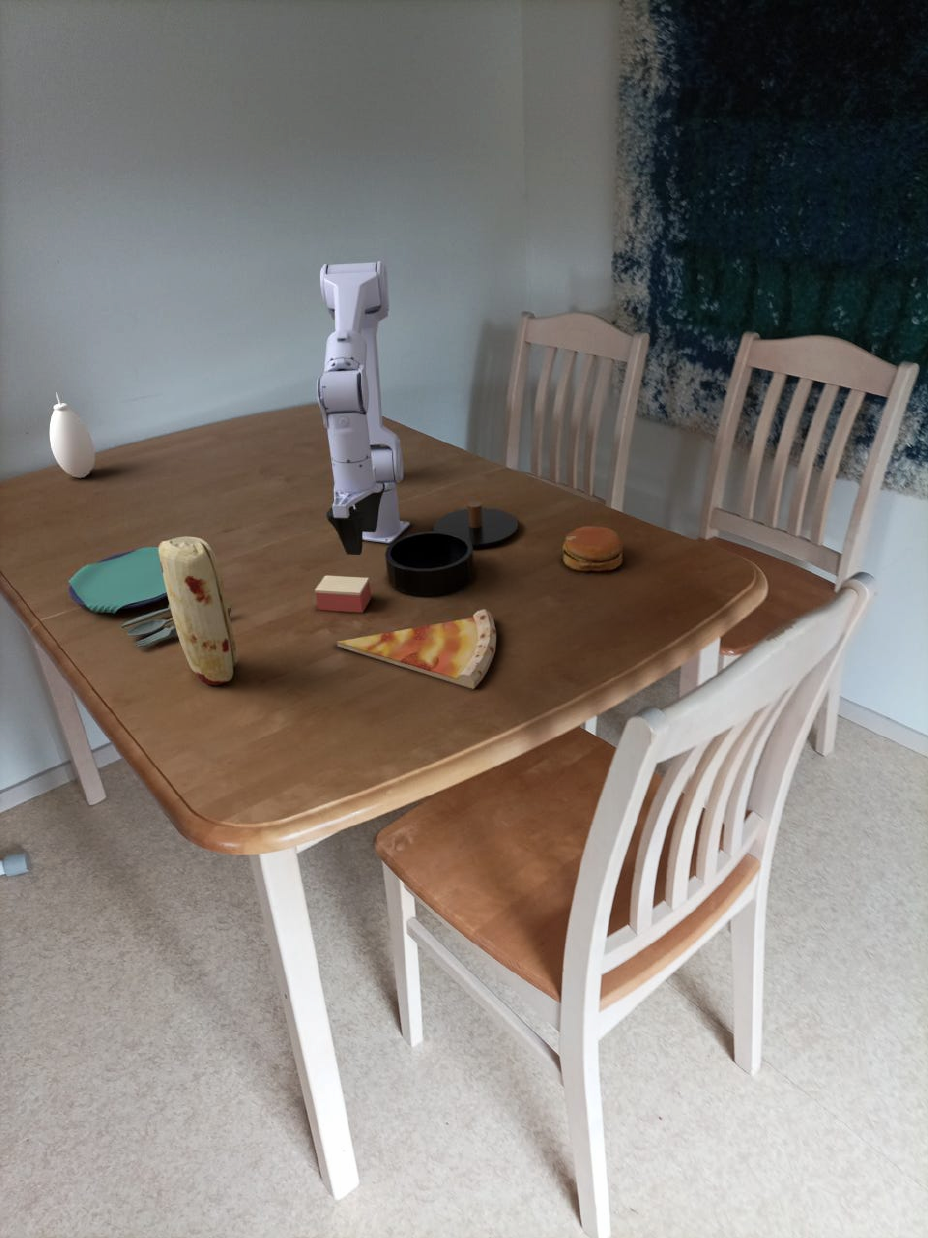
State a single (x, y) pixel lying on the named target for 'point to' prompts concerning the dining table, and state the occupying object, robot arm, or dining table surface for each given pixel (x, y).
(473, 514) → the pan lid
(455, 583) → the pan
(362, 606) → the red and cream block
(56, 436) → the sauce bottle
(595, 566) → the burger
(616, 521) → the dining table surface
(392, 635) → the pizza slice
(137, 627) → the cutlery set
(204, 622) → the food model
